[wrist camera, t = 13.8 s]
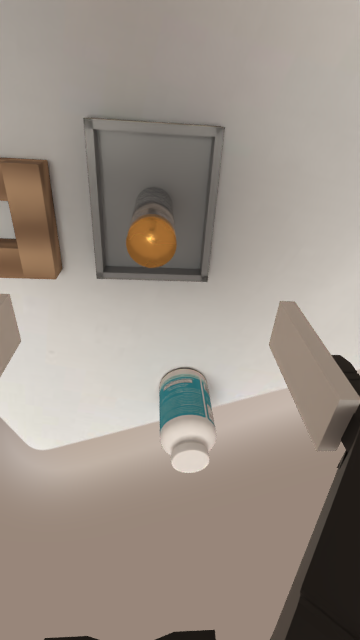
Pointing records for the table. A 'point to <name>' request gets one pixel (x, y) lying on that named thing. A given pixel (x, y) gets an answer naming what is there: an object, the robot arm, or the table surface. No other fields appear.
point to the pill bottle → (186, 420)
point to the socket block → (29, 221)
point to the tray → (145, 172)
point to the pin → (152, 229)
